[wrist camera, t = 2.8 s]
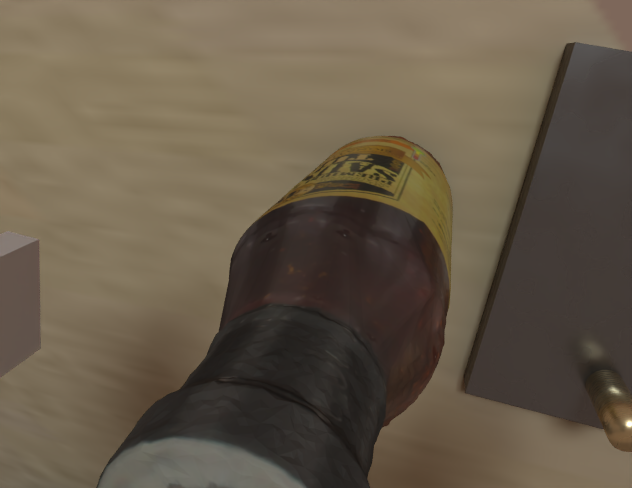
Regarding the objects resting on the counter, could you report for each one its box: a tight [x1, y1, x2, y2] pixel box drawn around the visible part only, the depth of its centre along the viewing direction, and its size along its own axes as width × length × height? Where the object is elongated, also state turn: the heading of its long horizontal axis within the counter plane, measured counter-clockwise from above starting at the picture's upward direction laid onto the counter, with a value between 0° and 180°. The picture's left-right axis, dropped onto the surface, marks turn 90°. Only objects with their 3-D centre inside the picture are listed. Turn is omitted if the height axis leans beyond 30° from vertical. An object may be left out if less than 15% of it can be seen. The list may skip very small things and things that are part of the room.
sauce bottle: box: [96, 136, 452, 488], centre depth 17 cm, size 7×6×20 cm
